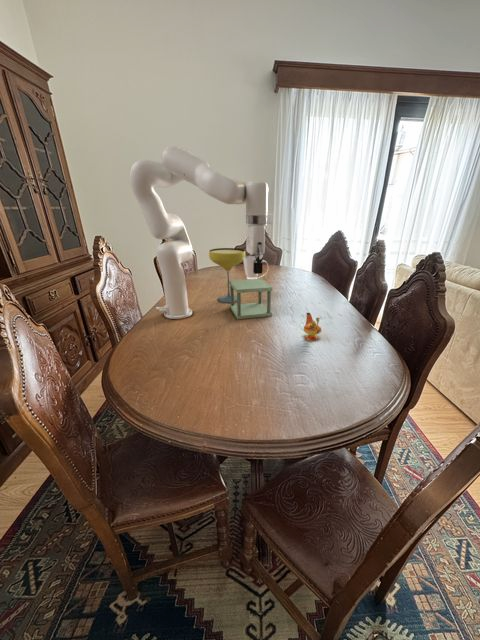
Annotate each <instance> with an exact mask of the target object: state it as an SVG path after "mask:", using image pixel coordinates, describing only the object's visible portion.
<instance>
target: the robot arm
mask: <svg viewBox="0 0 480 640" xmlns="http://www.w3.org/2000/svg"><path fill="white" fill-rule="evenodd" d="M183 181H186V182H187V183H189V184H191V185H193V186H196V187H197V188H199V190H200V191H202V192H203V193H205V194H206V195H207V196H209V197H212V198H214V199H216V200H218V201H220V202H221V203H224V204H227V205H245V225H246V226H247V227H246V240H245V241H246V243H245V252H247V253H248V254H249V255H248V256H254V258H255V263H254V274H258V275H259V274H261V275H262V274H263V263H264V262H263V260H264V254H265V252H266V251H265V250H266V227H267V225H268V201H269V200H268V199H269V185H268V183H267V182H266V181H263V180H249V181H244V180H239V179H234V178H233V179H232V178H229V177H228V176H225V175H223V174H221V173H219V172H217V171H216V170H214V169H212V168H211V167H210V164H209V163H208V162H207V161H206V160H204V159H201V158H200V157H198V156H195V155H194V153H193V152H192V151H190V150H188V149H186V148H182V147H178V146H175V145H169V146H167V147H165V148H164V149H163V150H162V153H161V161H155V160H152V159H139V160H137V161H135V162H134V163H133V164H132V166H131V168H130V171H129V184H130V188H131V191H132V192H133V195H134V197H135V198H136V200H137V203H138V204H139V207H140V209H141V212H142V214H143V217H144V219H145V222H146V224H147V226H148V230H149V232H150V234H151V235H152V237H154V238H155V239H156V240H167V239H168V240H169V241H165V242H163V243H161V244H159V245H158V247H157V248H156V251H155V252H156V253H155V254H156V259H157V262H158V266H159V268H160V274H161V279H162V280H161V281H162V286H163V293H164V298H165V299H164V300H165V305H163V306H156V307H155V309H156V312H159V313H163V315H164V317H165V318H167V319H170V320H181V319H182V320H183V319H187V318H189V317H191V316H192V315H193V310H192V309H191V308H189V302H188V301H189V300H188V291H187V283H186V282H187V281H186V276H185V271H184V269H183V267H182V265H181V264H182V263H187V262H189V261H190V260H191V259H192V258H193V252H194V251H193V250H194V249H193V246H192V243H191V240H190V237H189V235H188V232H187V228H186V226H185V223H184V221H183V220H182V219H181V217H179V216H178V215H177V214H175V213H171V212H169V213H168V212H167V211H166V209H165V207H164V203H163V201H162V199H161V197H160V196H159V194H158V193H157V192H156V191H155V189H154V188H170V187H173V186H175V185H177V184H178V183H180V182H183ZM257 256H258V257H257Z"/></svg>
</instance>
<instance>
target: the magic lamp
mask: <svg viewBox="0 0 480 640" xmlns="http://www.w3.org/2000/svg"><path fill="white" fill-rule="evenodd" d="M305 314H306V320H305V325H304V326H303V332H304V333H305V334H307V335H305V337H304V338H305V340H307V341H310V342H311V341H312V342H315V341H318V340H319V337H318V336H317V335H319V334H320V333H322V329H323V328H322V327H321V326H320V325H319V322H320V317H316V318H315V320H314V319H313V317H312V314H311V313H310V312H306V313H305Z"/></svg>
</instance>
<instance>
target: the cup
mask: <svg viewBox="0 0 480 640" xmlns="http://www.w3.org/2000/svg"><path fill="white" fill-rule="evenodd" d="M257 257H258V256H257ZM242 262H243V269H244V274H245V276H246V277H245V280H256V279H262V278H264V276H266V275H267V274H268V272H269V270H270V268H269V263H268V262H267V261H266V260H264V259H263V263H266V266H267V270H266V271H265V273H264V274H261V275H260V276H259V274H254V263H255V258H254V256H249V255H245V257H243V261H242ZM258 276H259V277H258Z"/></svg>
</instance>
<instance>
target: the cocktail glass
mask: <svg viewBox="0 0 480 640" xmlns="http://www.w3.org/2000/svg"><path fill="white" fill-rule="evenodd" d="M245 256H246V249H245V250H244V249H242V248H236V247H235V248H234V247H232V248H231V247H222V248H221V247H220V248H219V247H218V248H213V249H210V250H209V251H208V257H209V260H210V261H211V262H212V263H214V264H216V265H218V266H220V267H222V268H223V269H224V270H225V272H227V295H224V296H221V297H219V298H218V301H219V302H221V303H225V304H226V303H227V304H231V292H230V284H229V281H230V272H231V270H232V269H233V268H234V267H236V266H237V265H239V264H241V263H243V262H244V261H243V257H245ZM234 303H237V296H235V295H234Z"/></svg>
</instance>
